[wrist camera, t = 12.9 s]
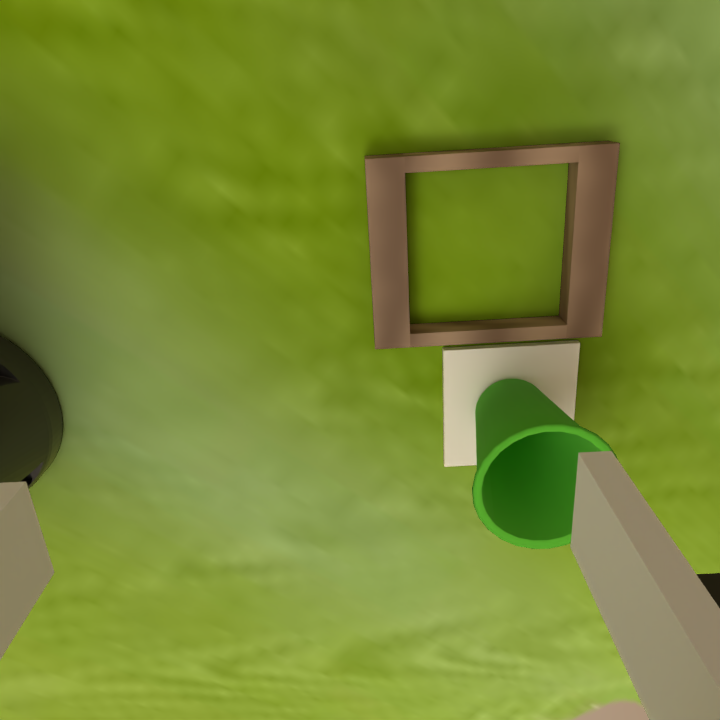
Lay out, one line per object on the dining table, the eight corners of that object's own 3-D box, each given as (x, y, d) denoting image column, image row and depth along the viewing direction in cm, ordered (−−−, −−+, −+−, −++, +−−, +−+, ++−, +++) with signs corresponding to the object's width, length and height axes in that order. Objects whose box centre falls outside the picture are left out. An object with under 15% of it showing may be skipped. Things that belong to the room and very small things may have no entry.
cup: (591, 410, 50) (651, 493, 39) (497, 478, 52) (531, 573, 42) (520, 328, 47) (565, 396, 37) (425, 404, 49) (442, 487, 39)
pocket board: (374, 338, 48) (375, 349, 46) (364, 155, 43) (364, 159, 41) (592, 326, 47) (601, 336, 46) (608, 140, 42) (619, 143, 41)
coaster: (443, 462, 52) (444, 466, 51) (442, 347, 48) (443, 350, 48) (568, 456, 52) (570, 460, 51) (577, 340, 48) (580, 343, 47)
